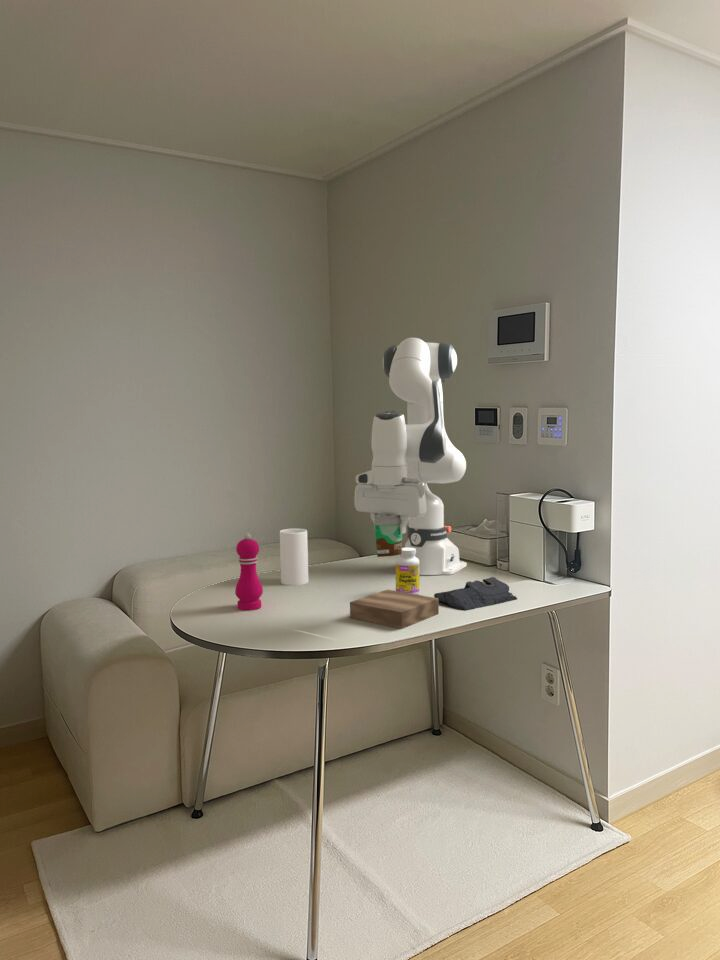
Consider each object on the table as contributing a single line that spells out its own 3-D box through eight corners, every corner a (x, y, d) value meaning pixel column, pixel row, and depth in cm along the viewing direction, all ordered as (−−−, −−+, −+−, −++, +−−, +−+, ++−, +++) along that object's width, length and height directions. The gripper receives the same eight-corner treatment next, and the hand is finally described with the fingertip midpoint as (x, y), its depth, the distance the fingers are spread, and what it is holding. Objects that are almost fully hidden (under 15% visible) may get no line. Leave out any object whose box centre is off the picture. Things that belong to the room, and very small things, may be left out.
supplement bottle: (395, 596, 214) (395, 551, 213) (396, 591, 220) (395, 546, 219) (419, 597, 213) (419, 551, 212) (419, 591, 220) (419, 546, 219)
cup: (309, 579, 236) (308, 528, 234) (307, 586, 228) (306, 532, 226) (282, 580, 236) (281, 528, 234) (279, 586, 228) (278, 533, 226)
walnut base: (388, 604, 206) (387, 589, 206) (438, 613, 196) (438, 598, 196) (350, 617, 194) (349, 602, 194) (402, 628, 184) (401, 612, 184)
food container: (400, 557, 187) (398, 516, 187) (375, 557, 189) (373, 516, 188) (411, 550, 199) (409, 511, 198) (388, 550, 200) (386, 512, 200)
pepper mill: (232, 610, 202) (229, 535, 200) (240, 603, 209) (238, 530, 207) (259, 611, 201) (256, 535, 199) (266, 604, 208) (264, 531, 206)
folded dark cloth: (425, 601, 210) (425, 584, 210) (483, 589, 223) (483, 573, 223) (464, 613, 198) (464, 595, 197) (523, 599, 211) (523, 582, 210)
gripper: (431, 478, 188) (431, 534, 190) (365, 474, 201) (366, 526, 203) (416, 480, 184) (416, 537, 185) (350, 476, 196) (351, 529, 198)
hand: (390, 531), depth 194 cm, fingers closed on food container, 6 cm apart
